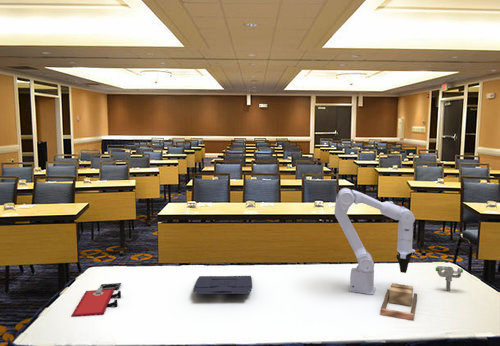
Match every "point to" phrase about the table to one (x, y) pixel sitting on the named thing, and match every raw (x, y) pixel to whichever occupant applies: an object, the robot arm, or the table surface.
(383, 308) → the bay
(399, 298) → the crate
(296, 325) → the table surface
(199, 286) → the dark grey flat slab
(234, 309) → the table surface
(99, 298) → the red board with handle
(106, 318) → the table surface
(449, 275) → the mechanical component
